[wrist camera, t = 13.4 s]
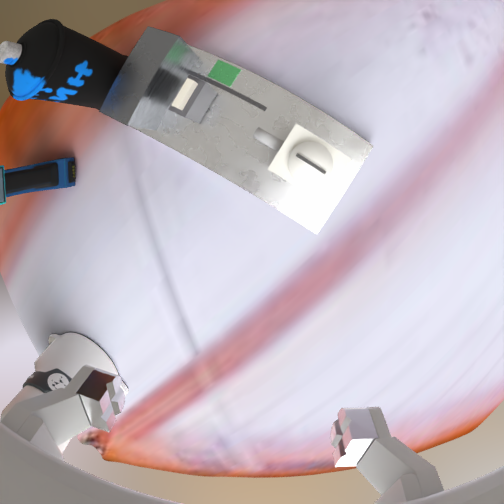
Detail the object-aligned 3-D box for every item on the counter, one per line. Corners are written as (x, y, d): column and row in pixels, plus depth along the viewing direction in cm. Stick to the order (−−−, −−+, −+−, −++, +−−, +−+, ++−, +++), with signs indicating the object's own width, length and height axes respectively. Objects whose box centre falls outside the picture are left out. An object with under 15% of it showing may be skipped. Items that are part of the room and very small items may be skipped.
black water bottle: (89, 70, 30) (-19, 42, 11) (138, 47, 28) (37, -11, 9) (94, 121, 32) (-26, 115, 13) (145, 100, 31) (28, 66, 12)
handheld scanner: (89, 187, 35) (-26, 214, 16) (22, 194, 36) (-69, 220, 18) (88, 154, 33) (-28, 163, 15) (21, 167, 35) (-72, 185, 16)
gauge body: (341, 159, 29) (354, 159, 24) (317, 197, 31) (324, 205, 25) (269, 114, 29) (266, 105, 23) (245, 153, 30) (237, 152, 25)
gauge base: (369, 146, 30) (396, 143, 22) (315, 231, 34) (325, 253, 26) (180, 44, 28) (153, 18, 20) (133, 126, 32) (95, 120, 24)
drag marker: (217, 92, 28) (202, 78, 22) (199, 123, 29) (180, 116, 24) (202, 85, 28) (185, 71, 22) (184, 115, 29) (163, 107, 23)
